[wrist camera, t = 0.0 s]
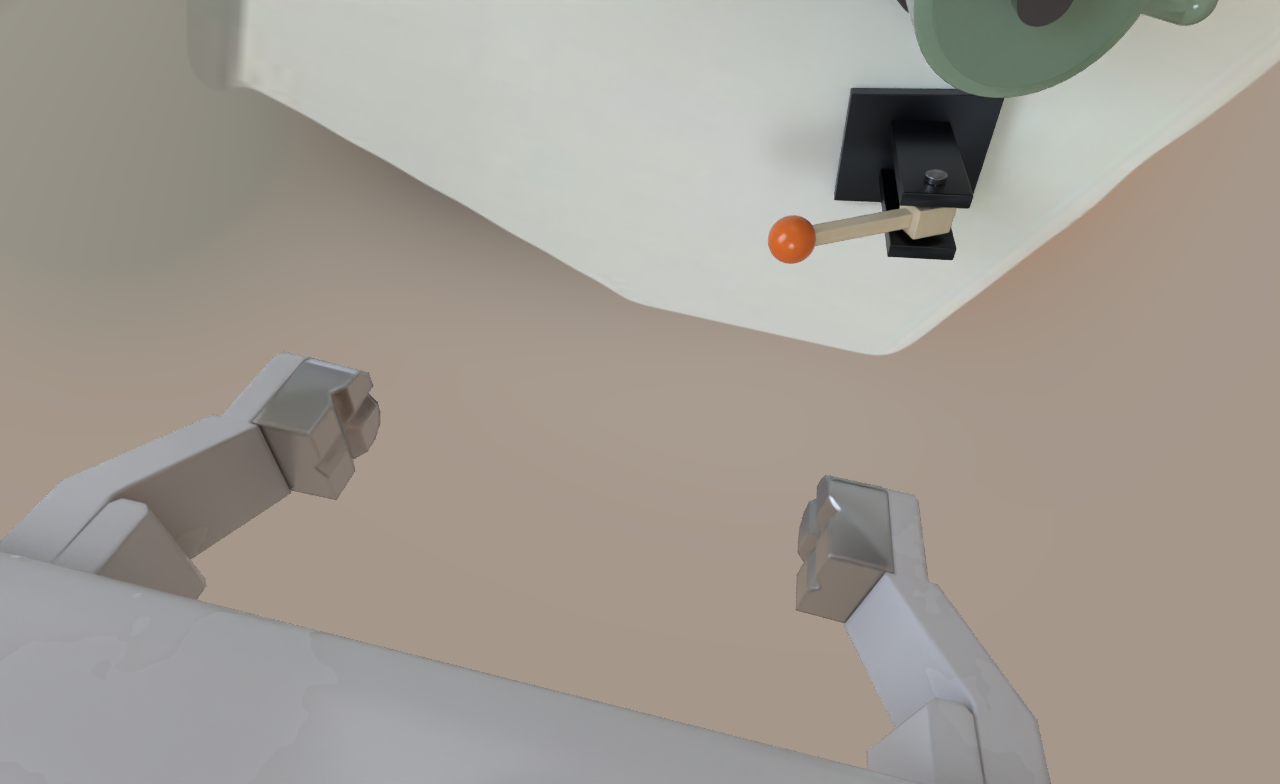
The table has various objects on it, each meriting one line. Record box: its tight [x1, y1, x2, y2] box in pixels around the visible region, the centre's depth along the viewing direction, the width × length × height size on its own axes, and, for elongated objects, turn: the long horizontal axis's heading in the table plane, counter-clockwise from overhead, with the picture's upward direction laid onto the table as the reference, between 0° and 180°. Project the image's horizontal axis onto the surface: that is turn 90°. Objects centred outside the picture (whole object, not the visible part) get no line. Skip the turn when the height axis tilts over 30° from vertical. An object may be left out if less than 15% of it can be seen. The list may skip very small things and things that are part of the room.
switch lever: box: [768, 206, 956, 264], centre depth 45 cm, size 13×3×3 cm, turn 93°
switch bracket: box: [834, 88, 1004, 260], centre depth 49 cm, size 11×9×13 cm
